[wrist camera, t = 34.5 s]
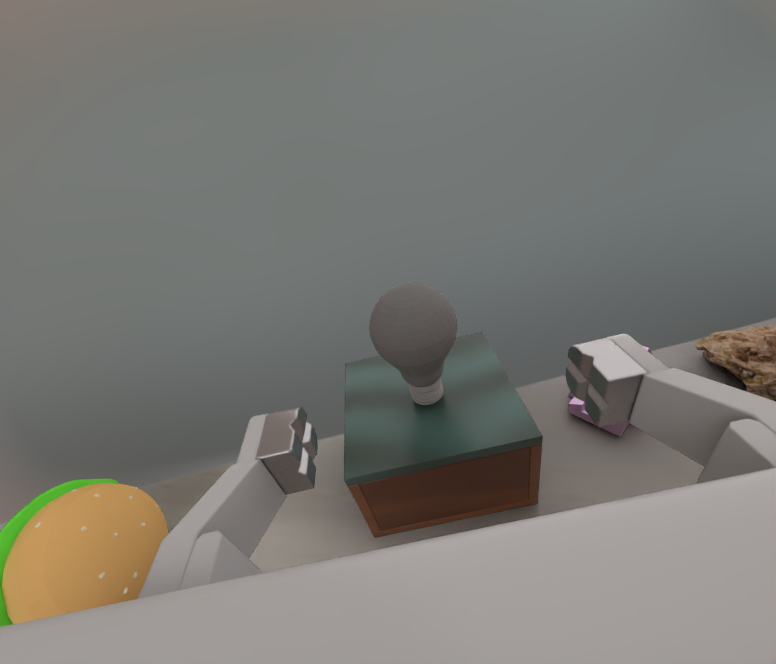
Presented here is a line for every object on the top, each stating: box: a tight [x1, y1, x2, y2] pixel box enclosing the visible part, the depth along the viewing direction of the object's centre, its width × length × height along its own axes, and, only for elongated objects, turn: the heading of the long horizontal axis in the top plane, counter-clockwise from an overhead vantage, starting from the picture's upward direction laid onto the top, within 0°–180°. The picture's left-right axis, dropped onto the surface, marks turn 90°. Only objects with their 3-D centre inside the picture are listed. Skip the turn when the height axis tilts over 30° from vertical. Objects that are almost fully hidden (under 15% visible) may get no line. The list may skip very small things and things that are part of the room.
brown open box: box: [348, 444, 542, 538], centre depth 30 cm, size 12×14×8 cm
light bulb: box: [369, 283, 457, 405], centre depth 25 cm, size 6×6×10 cm
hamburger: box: [0, 479, 168, 627], centre depth 26 cm, size 12×12×9 cm
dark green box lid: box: [344, 332, 543, 486], centre depth 28 cm, size 12×14×1 cm
